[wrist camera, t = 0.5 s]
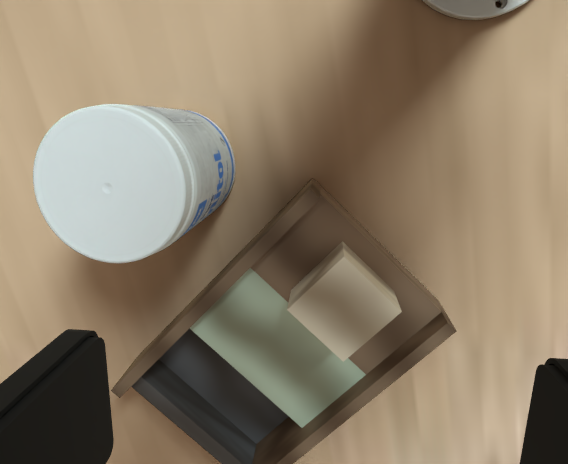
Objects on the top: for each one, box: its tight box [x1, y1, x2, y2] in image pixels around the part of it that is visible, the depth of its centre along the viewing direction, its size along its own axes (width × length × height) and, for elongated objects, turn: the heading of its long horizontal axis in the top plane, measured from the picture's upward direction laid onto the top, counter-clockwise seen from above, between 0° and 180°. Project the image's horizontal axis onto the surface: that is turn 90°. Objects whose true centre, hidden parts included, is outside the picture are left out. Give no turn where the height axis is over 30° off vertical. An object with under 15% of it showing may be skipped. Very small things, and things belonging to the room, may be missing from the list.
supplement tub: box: [33, 104, 235, 263], centre depth 33 cm, size 10×10×15 cm
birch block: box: [287, 241, 402, 362], centre depth 36 cm, size 6×6×4 cm
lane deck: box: [111, 178, 456, 464], centre depth 40 cm, size 25×16×6 cm, turn 136°
